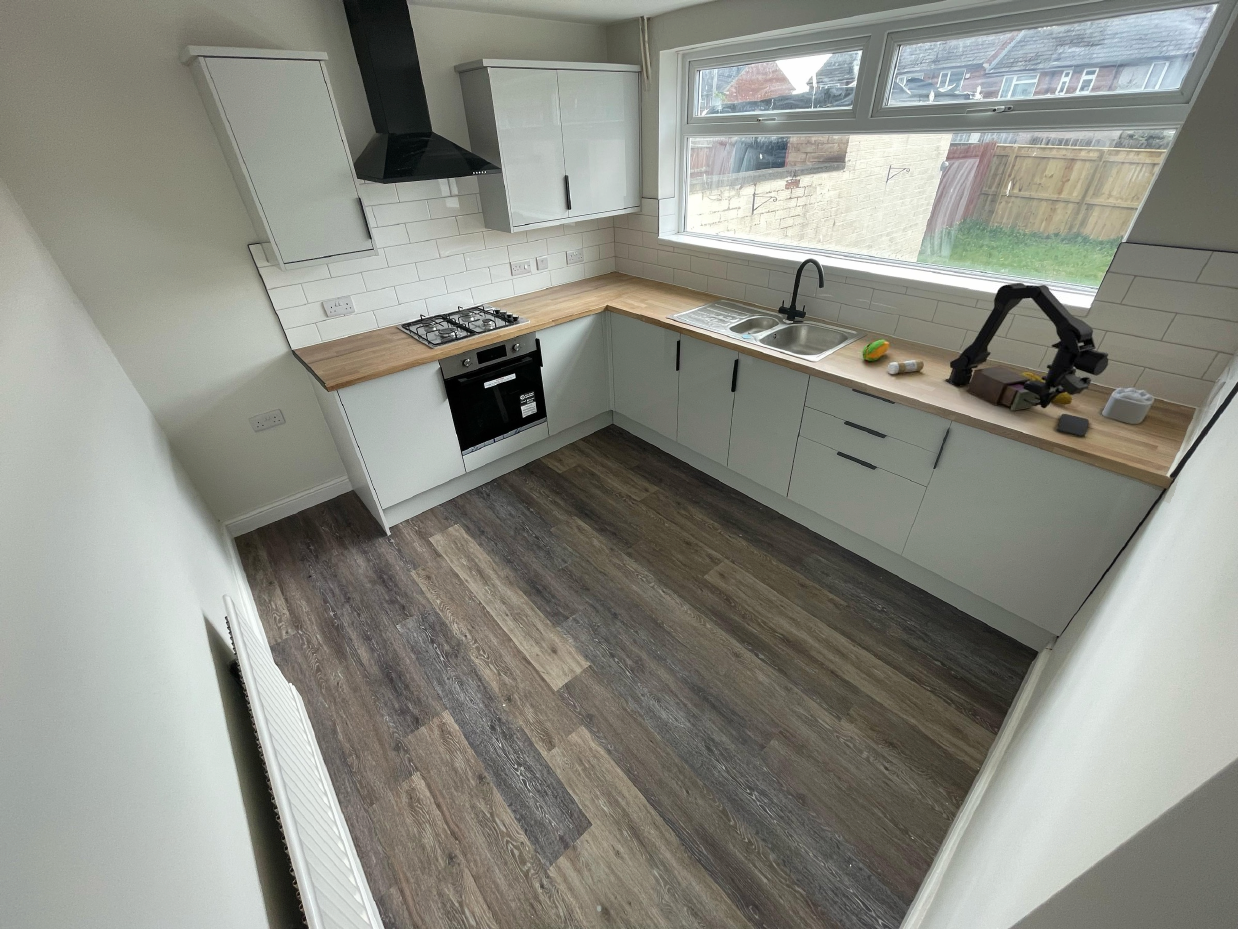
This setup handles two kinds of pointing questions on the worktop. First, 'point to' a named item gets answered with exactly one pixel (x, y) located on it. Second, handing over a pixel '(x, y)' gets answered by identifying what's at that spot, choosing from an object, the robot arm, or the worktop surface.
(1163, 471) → the worktop surface
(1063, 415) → the phone
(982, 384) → the cabinet
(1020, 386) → the block
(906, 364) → the sprinkles bottle
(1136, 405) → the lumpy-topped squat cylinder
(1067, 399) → the food
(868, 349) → the corn
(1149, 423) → the worktop surface
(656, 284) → the worktop surface
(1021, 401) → the drawer
